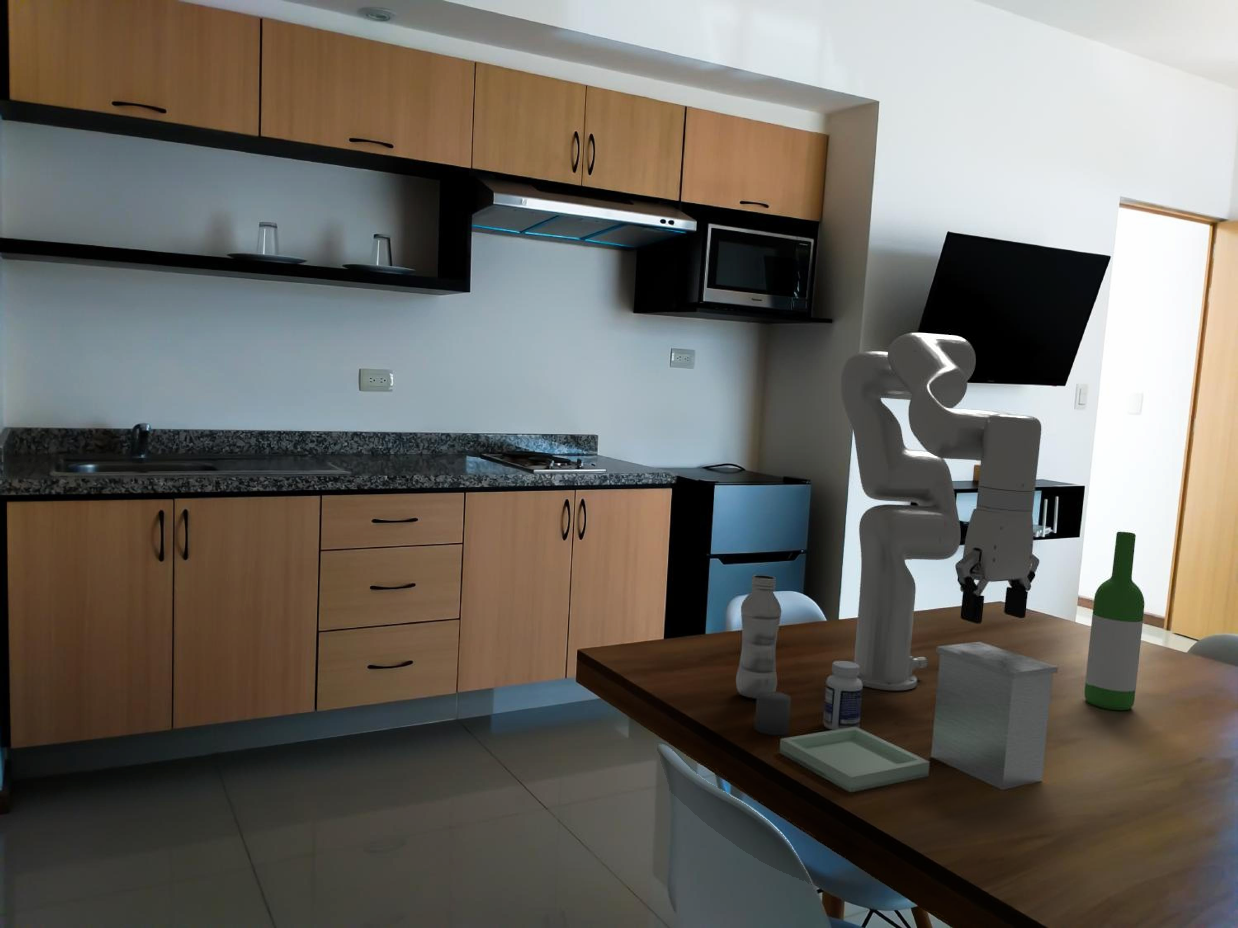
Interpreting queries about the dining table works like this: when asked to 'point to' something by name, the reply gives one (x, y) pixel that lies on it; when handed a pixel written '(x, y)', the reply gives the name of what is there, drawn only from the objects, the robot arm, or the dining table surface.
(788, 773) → the dining table surface
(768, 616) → the plastic bottle
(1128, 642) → the wine bottle
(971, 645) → the metal box
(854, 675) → the pill bottle
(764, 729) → the stopper
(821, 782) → the dining table surface
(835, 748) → the tray
